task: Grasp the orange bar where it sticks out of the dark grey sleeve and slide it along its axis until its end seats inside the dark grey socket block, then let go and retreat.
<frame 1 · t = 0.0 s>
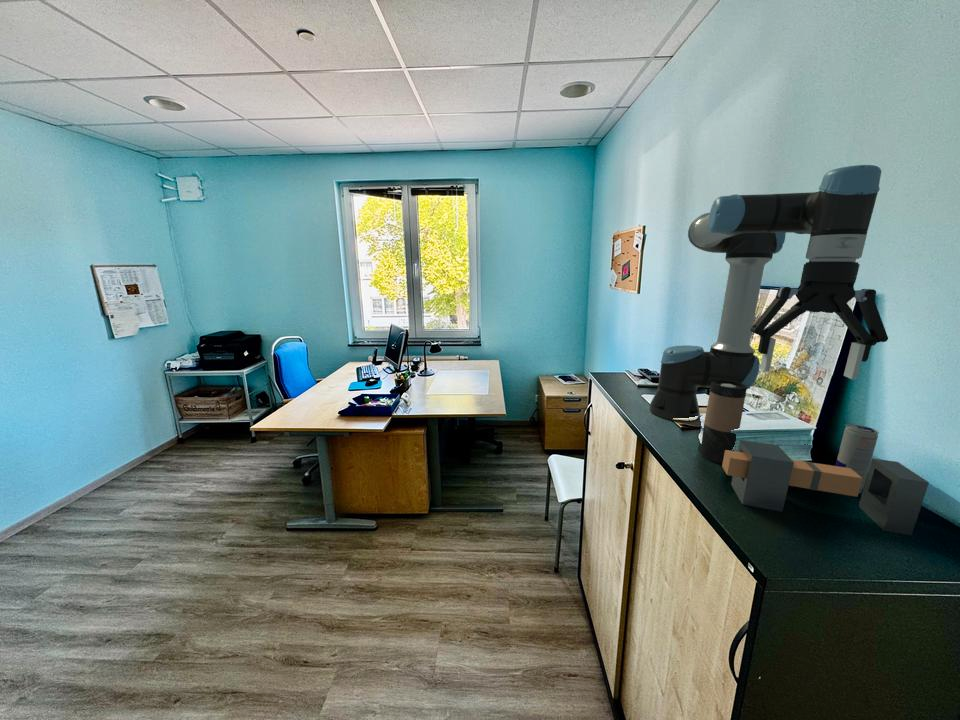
hand: (805, 373, 73), 28 cm above the table, fingers open, 13 cm apart
orange bar: (787, 471, 78), point 7 cm above the table, slide at 0.0 cm
travel mug: (715, 457, 99), on the table
sleeve: (755, 497, 81), on the table
beverage can: (845, 490, 85), on the table
socket: (883, 520, 74), on the table
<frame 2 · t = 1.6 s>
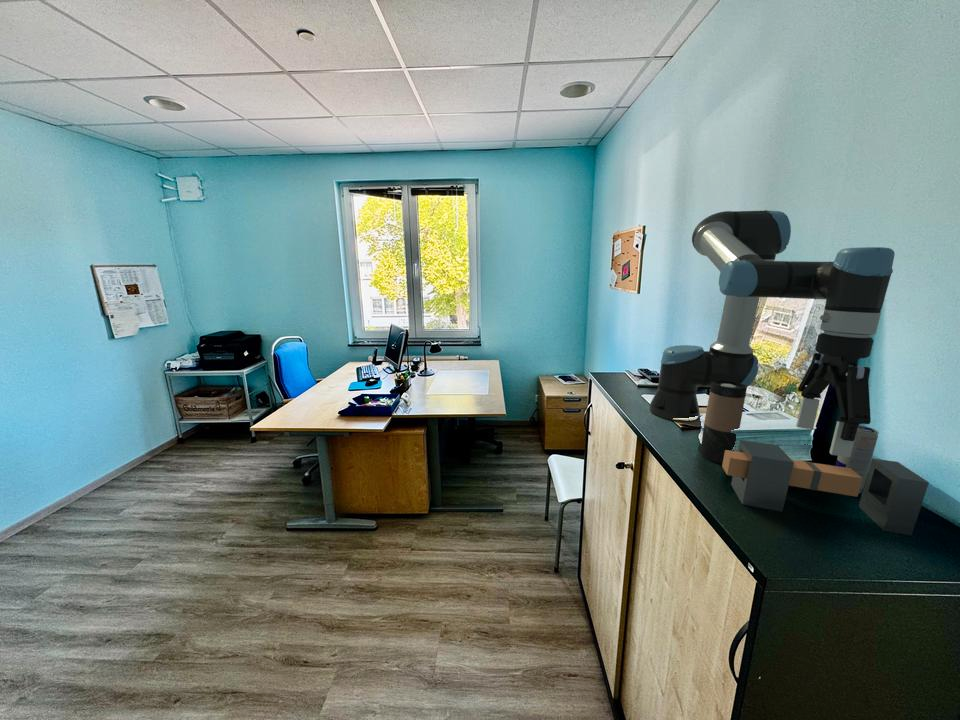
hand: (820, 440, 74), 15 cm above the table, fingers open, 13 cm apart
nothing on the table moved.
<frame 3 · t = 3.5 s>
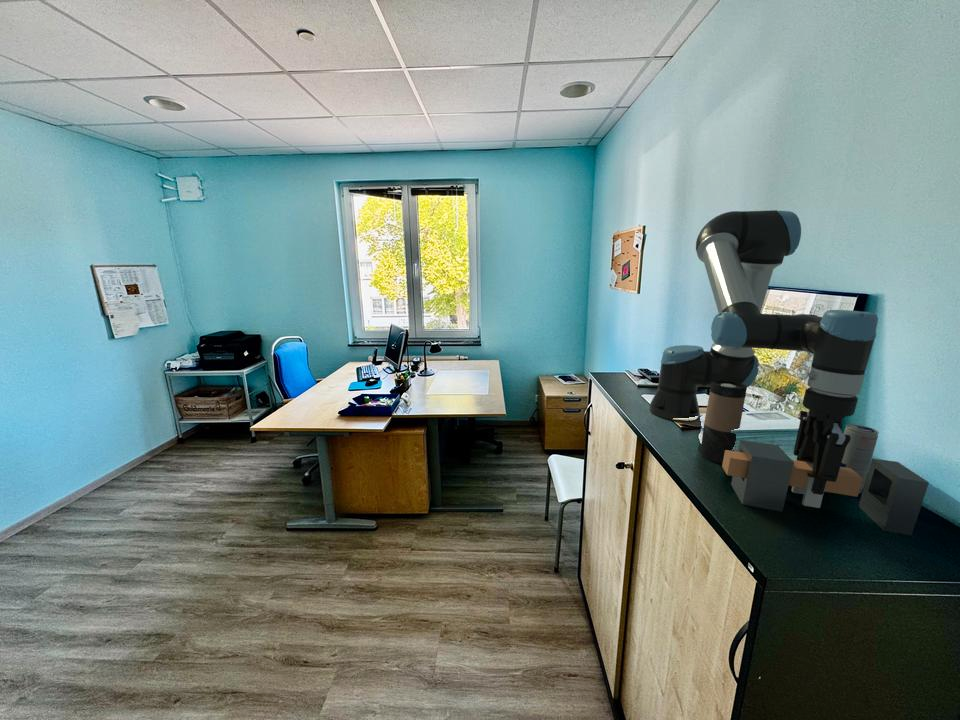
hand: (805, 498, 78), 2 cm above the table, fingers closed on orange bar, 4 cm apart
orange bar: (787, 471, 78), point 7 cm above the table, slide at 0.0 cm, touching gripper
everything else where it was.
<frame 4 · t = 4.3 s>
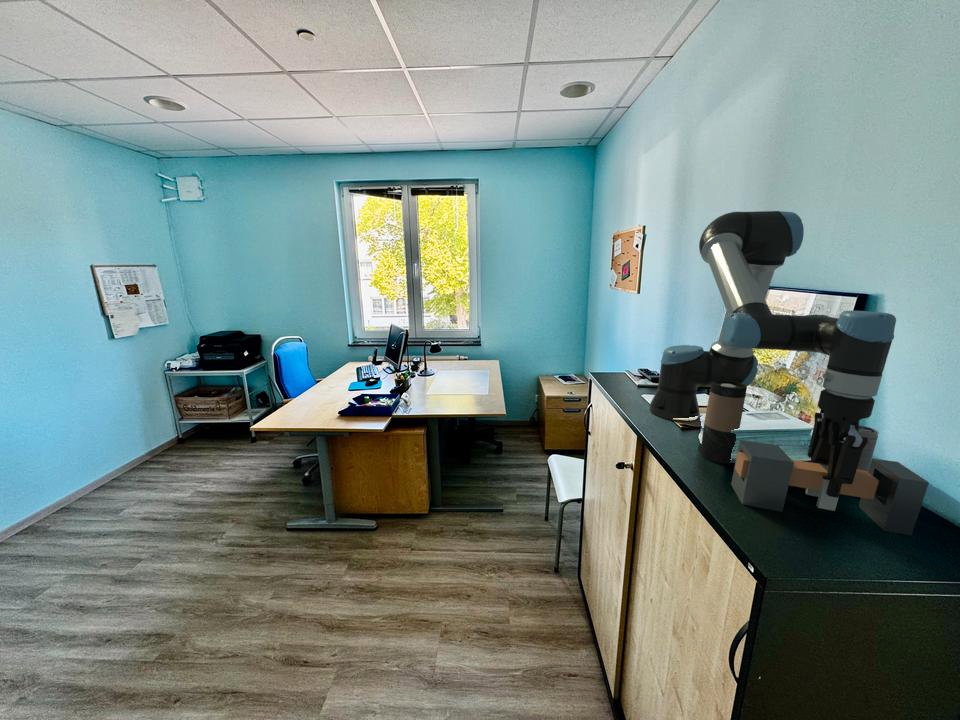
hand: (819, 501, 77), 2 cm above the table, fingers closed on orange bar, 4 cm apart
orange bar: (801, 474, 77), point 7 cm above the table, slide at 2.4 cm, touching gripper
everything else where it was.
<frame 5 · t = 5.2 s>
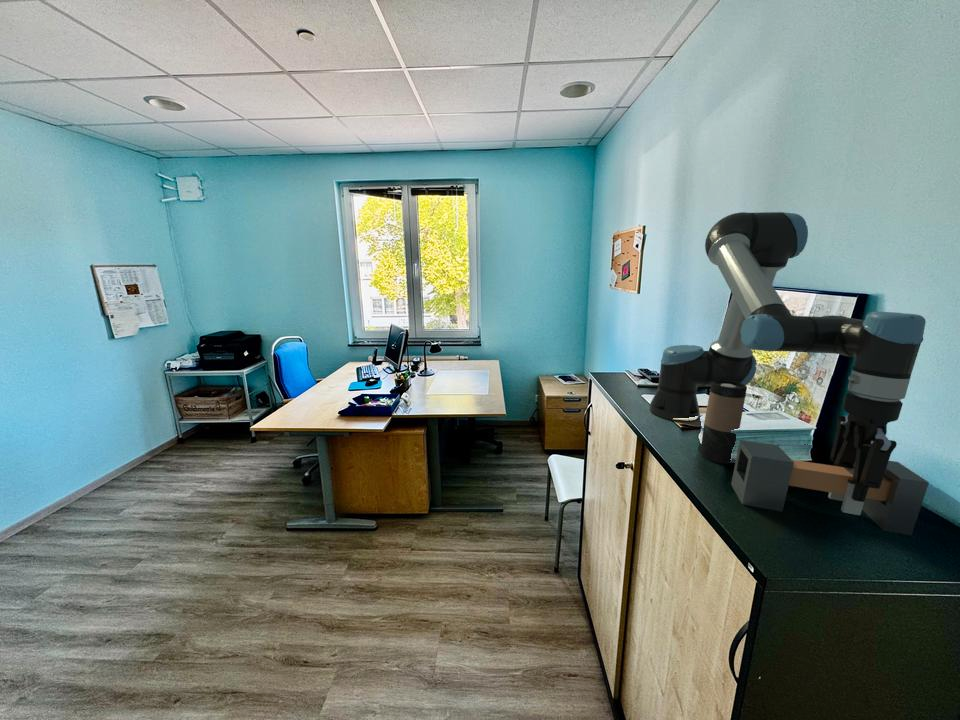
hand: (843, 505, 76), 2 cm above the table, fingers closed on orange bar, 4 cm apart
orange bar: (825, 477, 76), point 7 cm above the table, slide at 6.4 cm, touching gripper
everything else where it was.
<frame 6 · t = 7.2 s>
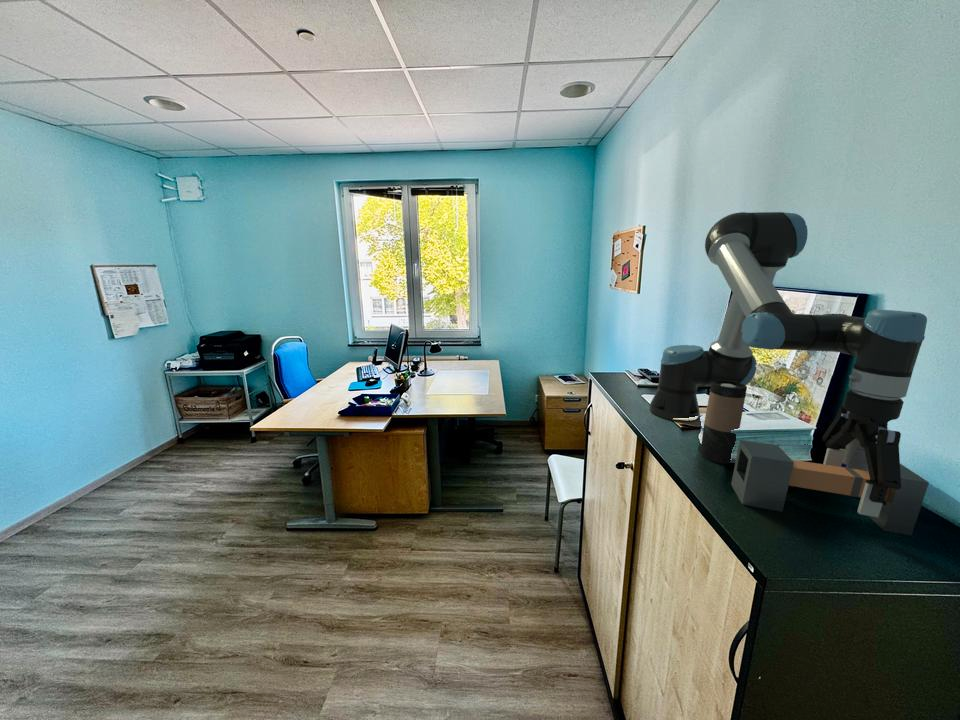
hand: (846, 494, 75), 4 cm above the table, fingers open, 13 cm apart
orange bar: (825, 477, 76), point 7 cm above the table, slide at 6.5 cm
everything else where it was.
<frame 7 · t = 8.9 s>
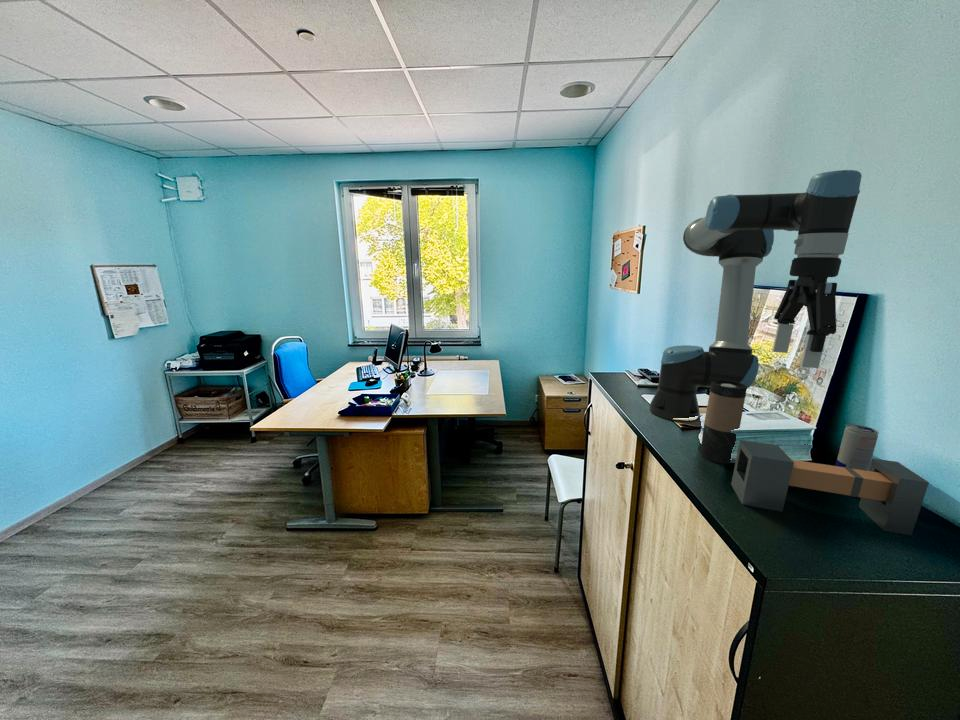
hand: (793, 359, 81), 29 cm above the table, fingers open, 13 cm apart
nothing on the table moved.
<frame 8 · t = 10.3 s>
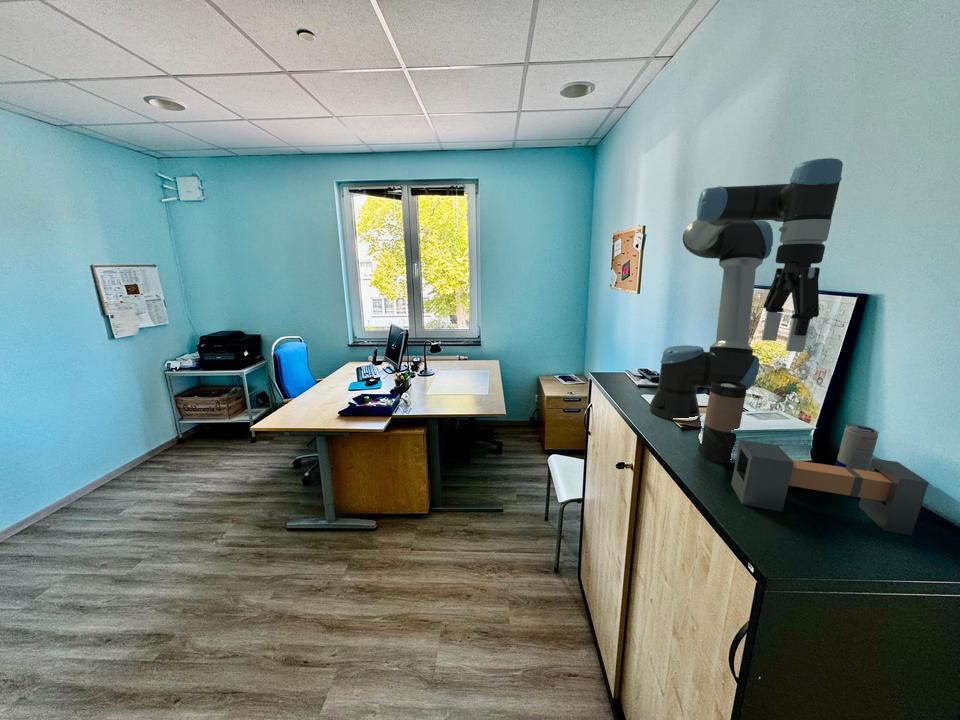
hand: (780, 345, 82), 32 cm above the table, fingers open, 13 cm apart
nothing on the table moved.
at the end: orange bar slide at 6.5 cm; the gripper is holding nothing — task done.
